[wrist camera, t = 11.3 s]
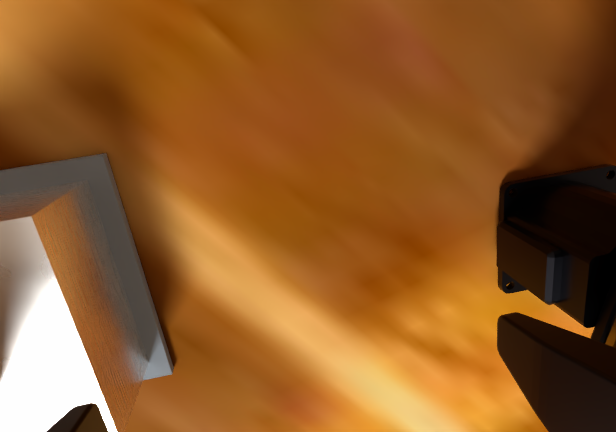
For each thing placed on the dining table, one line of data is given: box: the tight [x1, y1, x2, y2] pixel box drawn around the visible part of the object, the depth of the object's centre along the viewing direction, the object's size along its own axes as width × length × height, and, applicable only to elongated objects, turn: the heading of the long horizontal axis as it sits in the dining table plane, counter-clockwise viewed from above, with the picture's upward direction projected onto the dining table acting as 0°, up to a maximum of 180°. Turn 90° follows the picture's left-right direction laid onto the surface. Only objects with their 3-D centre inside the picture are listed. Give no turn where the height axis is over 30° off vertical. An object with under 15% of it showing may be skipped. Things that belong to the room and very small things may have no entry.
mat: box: [0, 153, 174, 380], centre depth 20 cm, size 12×12×1 cm
